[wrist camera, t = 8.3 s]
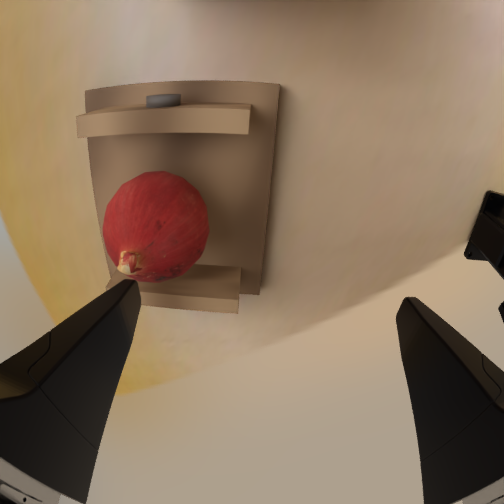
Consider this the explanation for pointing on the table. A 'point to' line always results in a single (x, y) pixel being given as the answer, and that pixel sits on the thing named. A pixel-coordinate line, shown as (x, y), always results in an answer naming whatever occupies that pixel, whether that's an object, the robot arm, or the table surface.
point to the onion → (155, 227)
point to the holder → (192, 174)
